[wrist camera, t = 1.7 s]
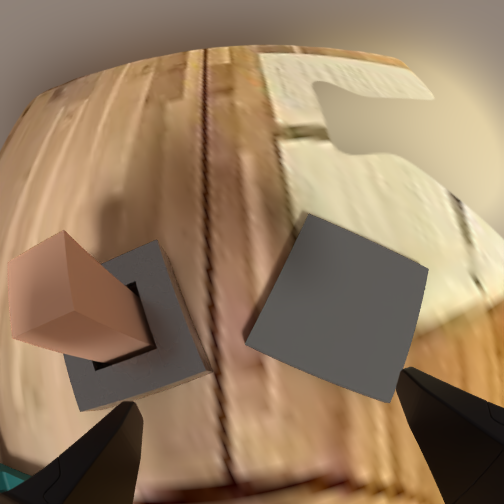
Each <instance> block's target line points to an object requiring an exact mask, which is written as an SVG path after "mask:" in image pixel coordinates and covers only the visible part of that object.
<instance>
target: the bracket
mask: <svg viewBox="0 0 504 504" xmlns="http://www.w3.org/2000/svg"><path fill="white" fill-rule="evenodd" d="M30 477H32V476H30V475H27V474H25V473H22V472H20V471H17V470H15V469H12V468H10V467H8V466H6V465H3V464H1V463H0V493H2V492H6V491H9V490H10V489H12V488H14V487H16V486H17V485H19V484H20V483H22V482H24V481H25V480H27V479H28V478H30Z"/></svg>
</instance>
